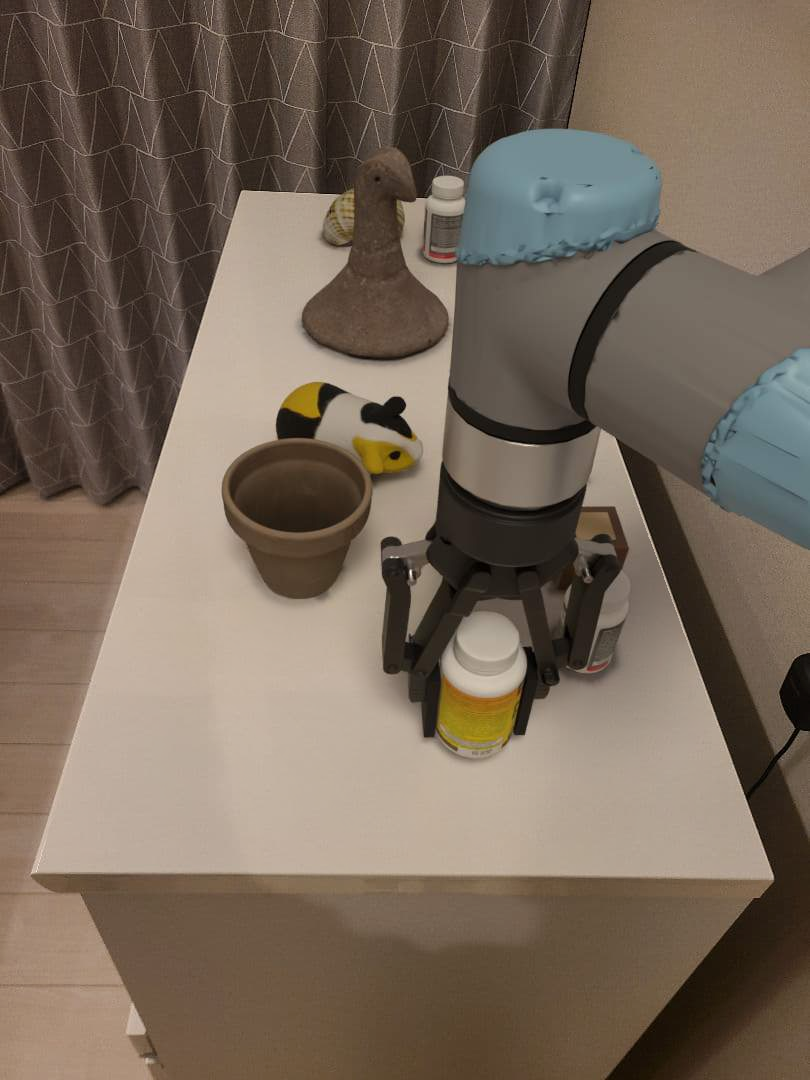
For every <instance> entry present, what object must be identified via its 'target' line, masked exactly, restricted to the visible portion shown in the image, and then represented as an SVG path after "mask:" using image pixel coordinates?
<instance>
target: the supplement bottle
mask: <svg viewBox="0 0 810 1080" xmlns="http://www.w3.org/2000/svg"><path fill="white" fill-rule="evenodd" d="M523 647H524V646H523V645H522V643H521V642H520V633H519V630H518V628H517V626H516V624H515V623H514V622H513V621H512V620H511V619H510V618H508V617H506V616H505V615H503V614H501V613H498V612H495V611H489V610H481V611H476V612H471V614H470V615H469V617H464V618H463V619H462V621H461V623H460V624H459V626H458V628H457V630H456V631H455V633H454V635H453V637H452V638H451V640H450V642H449V643H448V645H447V647H446V649H445V650H444V652H443V654H442V655H441V657H440V659H439V669H440V679H441V685H440V693H439V702H438V711H437V720H436V729H435V733H436V735H437V737H438V739H439V741H440V742H441V743H442V744H443V746H445V747H446V748H447V749H448V750H450V751H451V752H453V753H454V754H456V755H458V756H460V757H463V758H469V759H485V758H488V757H491V756H494V755H496V754H498V753H499V752H501V751H502V750H503V749H505V748H506V746H507V745H508V744H509V742H510V741H511V738H512V735H513V733H514V732H513V729H514V724H515V720H516V715H517V711H518V707H519V702H520V697H521V692H522V688H523V684H524V679H525V675H526V669H527V658H526V654H525V651H524V649H523Z"/></svg>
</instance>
